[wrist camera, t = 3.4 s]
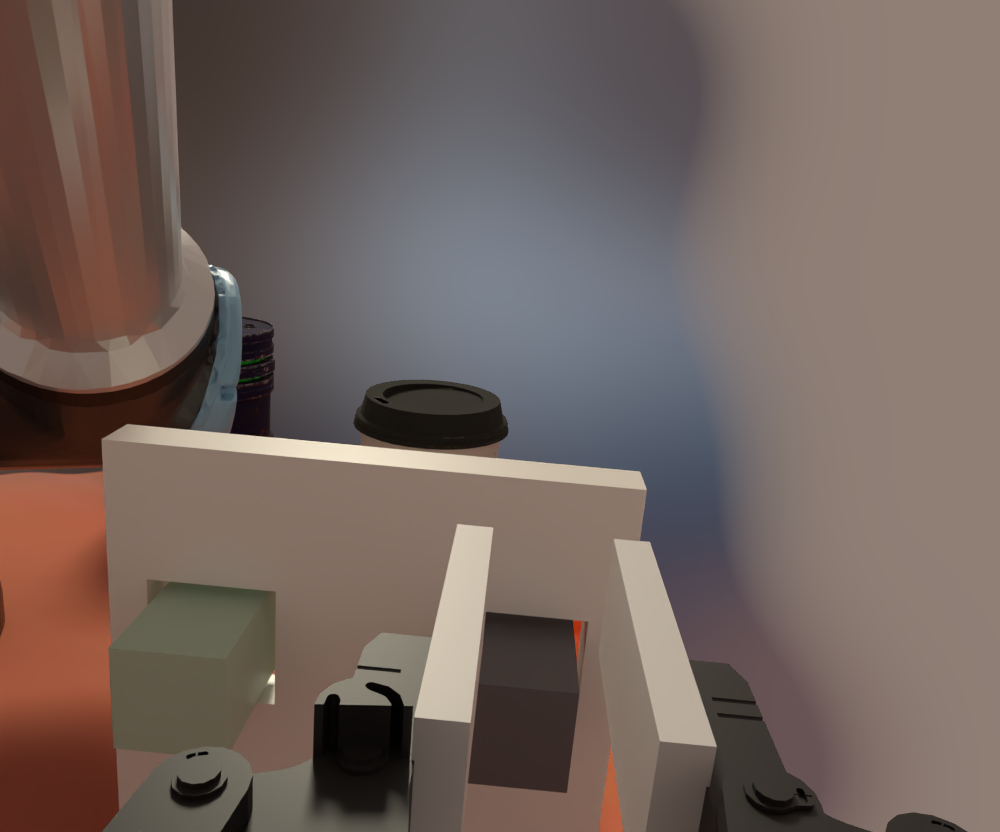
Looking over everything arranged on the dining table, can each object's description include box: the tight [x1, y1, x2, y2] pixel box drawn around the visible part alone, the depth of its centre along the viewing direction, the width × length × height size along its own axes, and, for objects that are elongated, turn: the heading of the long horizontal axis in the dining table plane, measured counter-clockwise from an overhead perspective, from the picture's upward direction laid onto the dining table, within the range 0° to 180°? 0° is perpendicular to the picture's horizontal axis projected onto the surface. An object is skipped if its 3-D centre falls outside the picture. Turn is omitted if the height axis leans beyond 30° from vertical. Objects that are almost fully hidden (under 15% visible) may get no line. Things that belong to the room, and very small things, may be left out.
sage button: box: [109, 582, 276, 755], centre depth 31 cm, size 4×6×4 cm, turn 178°
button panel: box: [101, 424, 647, 832], centre depth 35 cm, size 20×6×18 cm, turn 88°
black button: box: [468, 612, 580, 793], centre depth 31 cm, size 4×6×4 cm, turn 178°
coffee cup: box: [353, 380, 508, 458], centre depth 54 cm, size 10×10×15 cm
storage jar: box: [230, 317, 275, 438], centre depth 71 cm, size 10×10×15 cm
